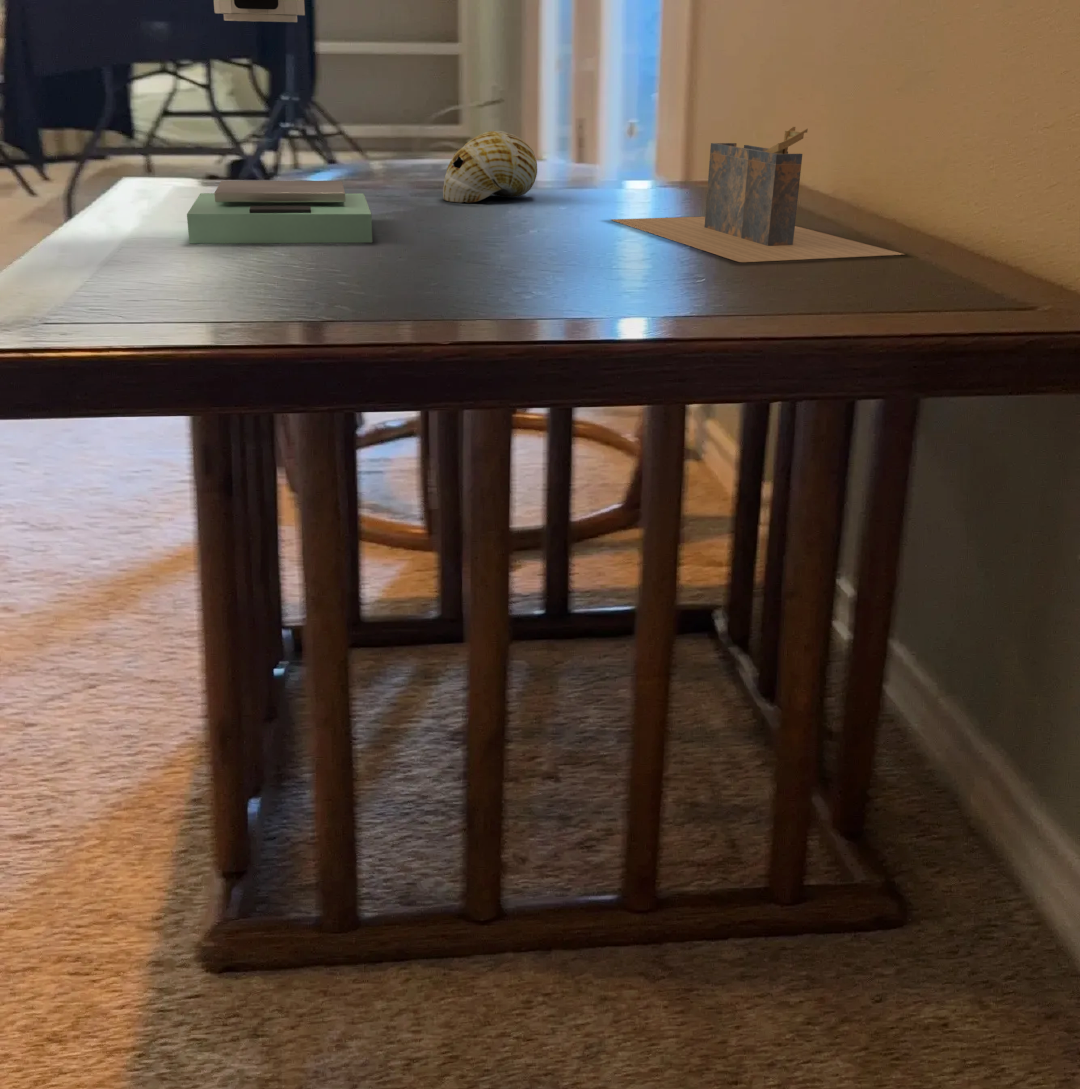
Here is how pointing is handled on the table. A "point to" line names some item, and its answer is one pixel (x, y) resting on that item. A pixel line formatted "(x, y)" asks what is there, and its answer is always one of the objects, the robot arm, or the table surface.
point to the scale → (279, 221)
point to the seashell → (490, 168)
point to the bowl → (261, 11)
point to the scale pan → (280, 191)
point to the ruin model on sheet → (754, 210)
